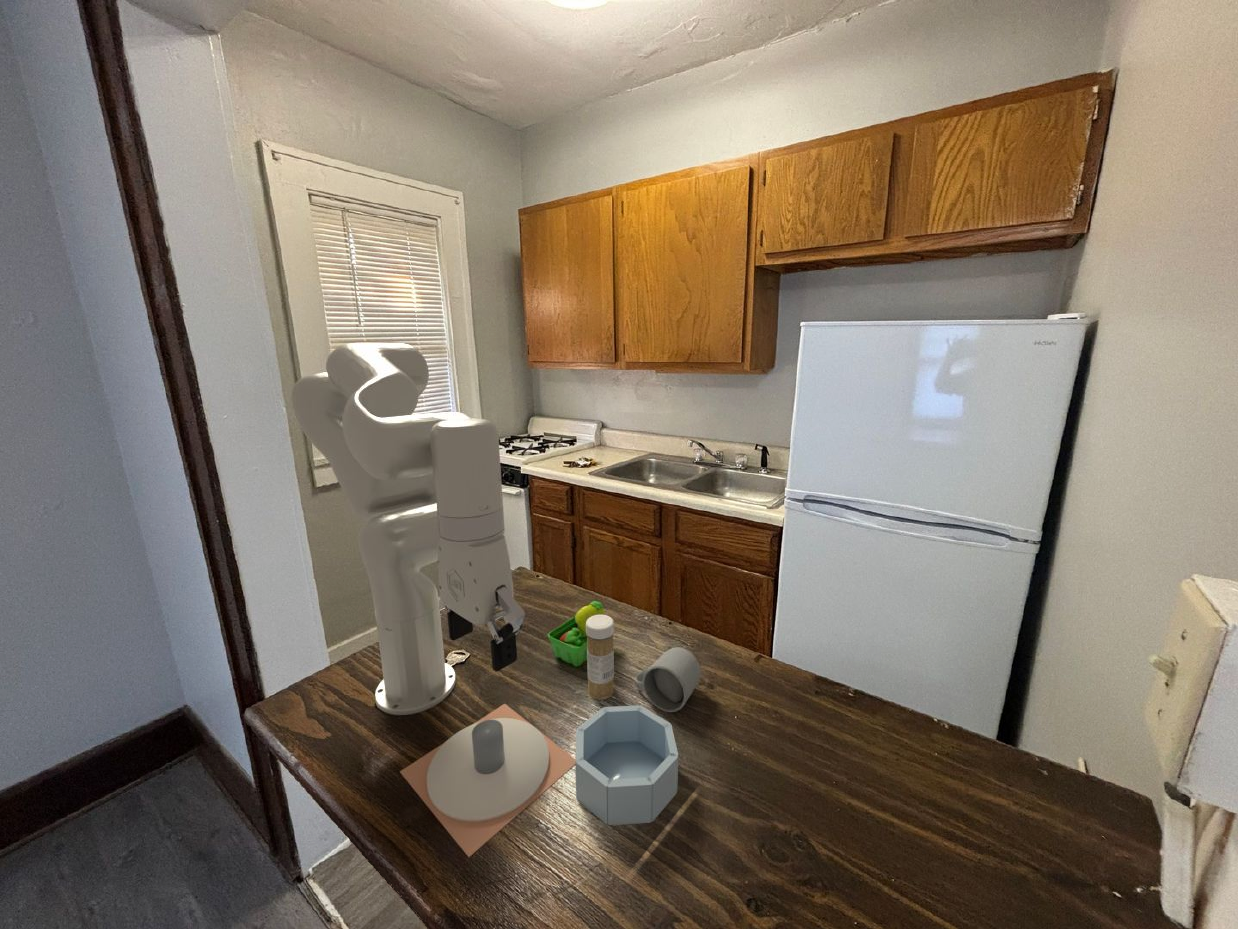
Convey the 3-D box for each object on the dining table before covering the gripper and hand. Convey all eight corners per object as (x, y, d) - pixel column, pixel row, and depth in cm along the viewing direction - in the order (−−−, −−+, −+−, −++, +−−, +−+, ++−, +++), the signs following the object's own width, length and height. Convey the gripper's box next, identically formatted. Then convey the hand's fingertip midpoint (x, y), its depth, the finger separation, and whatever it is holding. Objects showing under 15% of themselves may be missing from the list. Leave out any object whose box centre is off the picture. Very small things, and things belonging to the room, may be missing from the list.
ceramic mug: (703, 688, 81) (704, 648, 79) (685, 720, 74) (685, 676, 72) (647, 669, 86) (647, 631, 84) (625, 697, 79) (624, 656, 77)
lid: (405, 771, 64) (400, 735, 63) (504, 707, 76) (501, 675, 75) (470, 850, 54) (466, 809, 53) (572, 762, 66) (572, 726, 64)
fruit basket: (585, 631, 98) (584, 580, 95) (620, 646, 93) (620, 593, 90) (546, 659, 89) (544, 604, 86) (582, 677, 84) (581, 620, 81)
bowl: (556, 783, 63) (554, 745, 62) (620, 727, 72) (620, 693, 71) (631, 849, 55) (632, 807, 53) (693, 775, 64) (694, 738, 63)
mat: (400, 774, 64) (399, 771, 64) (504, 706, 77) (504, 703, 77) (469, 860, 53) (468, 857, 53) (578, 764, 66) (578, 761, 66)
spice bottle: (607, 680, 83) (606, 611, 80) (618, 697, 79) (618, 624, 76) (583, 688, 81) (581, 617, 78) (593, 705, 77) (592, 631, 74)
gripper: (407, 515, 60) (421, 637, 64) (486, 550, 49) (497, 696, 52) (461, 502, 65) (471, 614, 69) (543, 530, 54) (549, 663, 58)
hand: (482, 649), depth 61 cm, fingers open, 9 cm apart
